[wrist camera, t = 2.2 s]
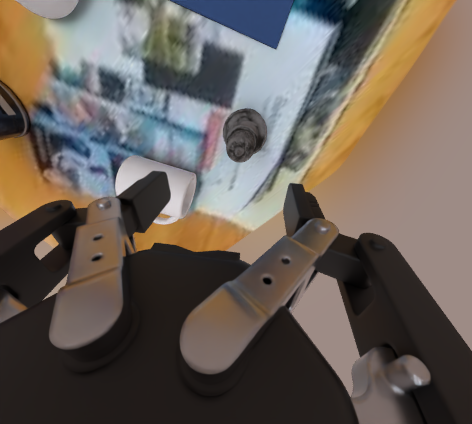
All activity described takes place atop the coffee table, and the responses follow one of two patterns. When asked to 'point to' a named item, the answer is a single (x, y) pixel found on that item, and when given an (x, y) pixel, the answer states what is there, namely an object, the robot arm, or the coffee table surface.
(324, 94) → the coffee table surface
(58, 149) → the coffee table surface
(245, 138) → the dark grey turned piece
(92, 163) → the coffee table surface
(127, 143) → the coffee table surface
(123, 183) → the mug
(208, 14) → the blue notebook
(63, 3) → the flower in vase
